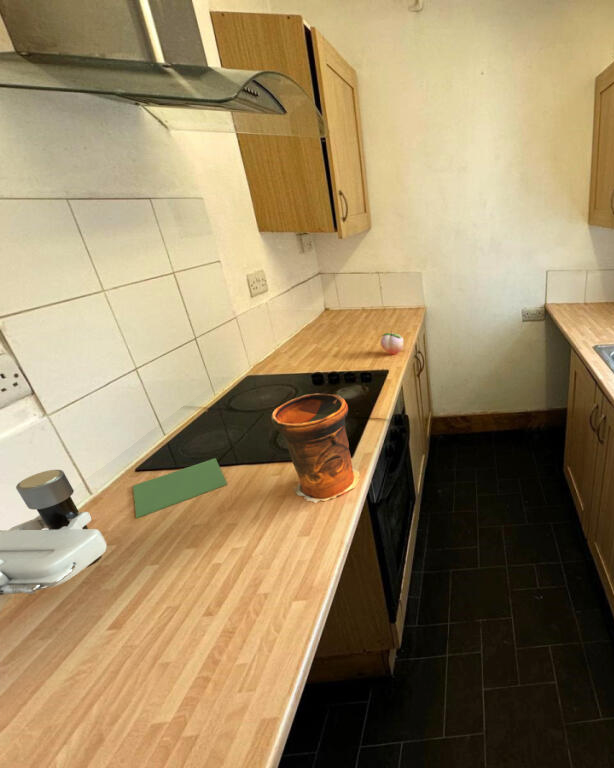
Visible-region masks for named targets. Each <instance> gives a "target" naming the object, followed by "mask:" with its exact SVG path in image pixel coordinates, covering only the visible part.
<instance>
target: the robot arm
mask: <svg viewBox="0 0 614 768" xmlns="http://www.w3.org/2000/svg"><path fill="white" fill-rule="evenodd" d="M67 520H68V521H69V525H68V526H67V527H66V526H64V527H62V528H60V529H59V530H49V529H48V528H47V526H46V524H45V523H44V521H43V519H42V518H41V516H40V514H39V515H37V516H36V517H35V518H33V519H30V520H28V521H25V522H22V523H20V524H17V525H15V526H12V527H11V528H10V529H8V530H6V529H5V530H2V529H1V530H0V612H1V611H2V610H3V609H5V608H6V607H7V606H8V605H10V604H11V603H12V602H13V601H14V599H15V597H16V595H18V594H27V595H32V594H38V593H40V592H42V590H47V589H52V588H56V587H58V586H60V585H62V584H64V583H66V582H67V581H69V580H71V579H73V578H74V577H75V576H77V575H78V574H79V573H81V572H82V571H84V569H87V568H88V567H87V566H88V565H90V564H91V563H92V562H94V561H95V560H96V559H97V558H99V557H100V556H101V555H102V556H103V555H104V554H105V552H106V551H107V547H108V544H107V542H106V539H105V537H104V535H103V534H102V532H101V531H100V530H99V529H98V528H88V529H82V527H84V526H85V525H88V524H89V523H90V522H91V521H92V516H91V514H90V513H89V512H88V511H79V512H76V513H75V514H74V515H72V516H71V517H69V518H68V519H67ZM86 567H87V568H86Z"/></svg>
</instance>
